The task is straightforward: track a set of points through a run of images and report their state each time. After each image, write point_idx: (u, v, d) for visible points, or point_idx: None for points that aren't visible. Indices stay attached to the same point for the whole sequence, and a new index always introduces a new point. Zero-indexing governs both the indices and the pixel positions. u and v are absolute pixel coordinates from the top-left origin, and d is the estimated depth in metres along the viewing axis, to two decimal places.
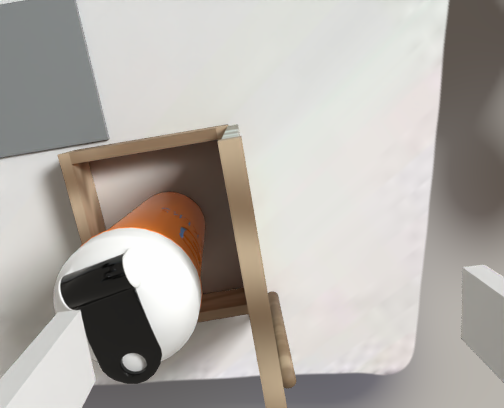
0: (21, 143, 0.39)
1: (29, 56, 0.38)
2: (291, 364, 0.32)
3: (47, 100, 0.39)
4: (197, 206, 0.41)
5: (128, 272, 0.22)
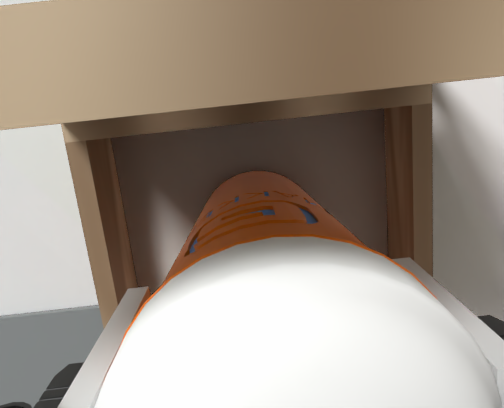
0: None
1: (1, 391, 0.27)
2: None
3: None
4: (225, 181, 0.24)
5: None
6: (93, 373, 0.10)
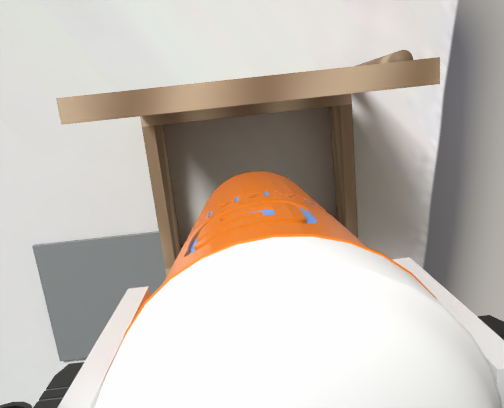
0: None
1: (88, 289, 0.42)
2: (389, 55, 0.26)
3: (126, 279, 0.42)
4: (225, 181, 0.24)
5: None
6: (93, 373, 0.10)
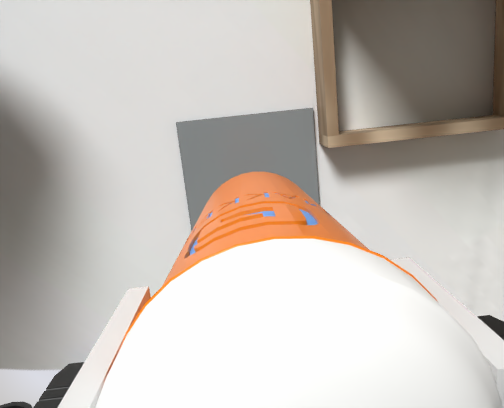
0: (309, 192, 0.41)
1: (230, 171, 0.40)
2: None
3: (271, 161, 0.40)
4: (226, 182, 0.24)
5: None
6: (93, 373, 0.10)
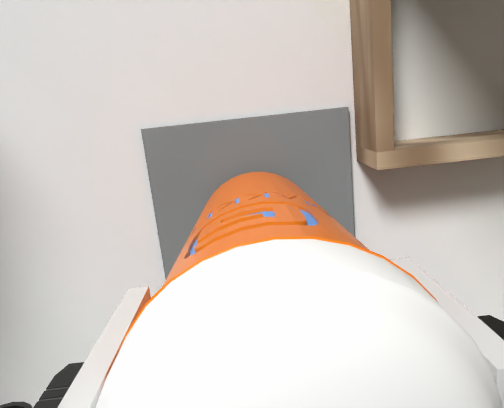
0: None
1: None
2: None
3: None
4: (226, 182, 0.24)
5: None
6: (93, 373, 0.10)
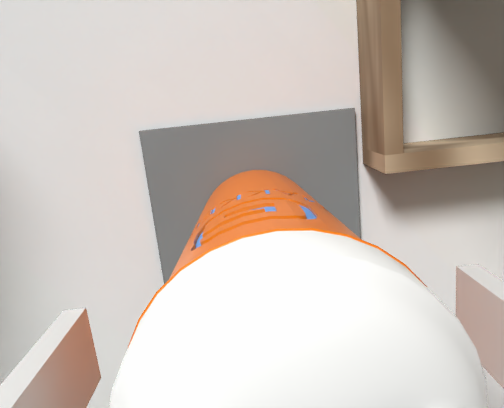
0: None
1: None
2: None
3: None
4: (226, 180, 0.25)
5: None
6: None
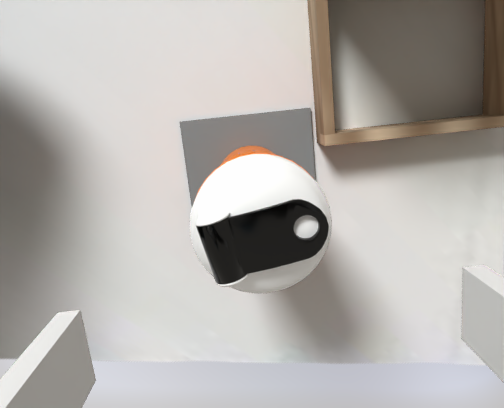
0: None
1: None
2: None
3: None
4: None
5: (207, 221, 0.23)
6: None
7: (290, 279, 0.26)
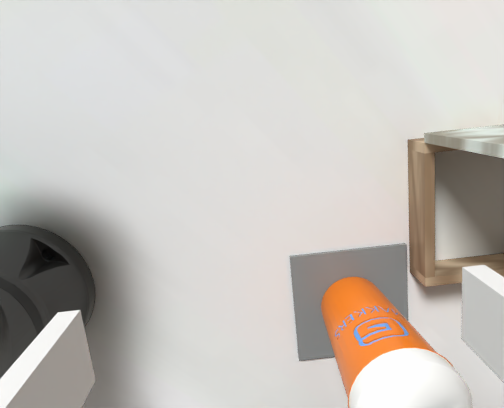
0: (399, 311, 0.48)
1: None
2: None
3: None
4: (336, 283, 0.46)
5: None
6: None
7: None
